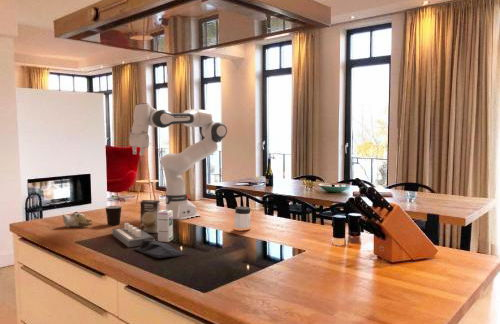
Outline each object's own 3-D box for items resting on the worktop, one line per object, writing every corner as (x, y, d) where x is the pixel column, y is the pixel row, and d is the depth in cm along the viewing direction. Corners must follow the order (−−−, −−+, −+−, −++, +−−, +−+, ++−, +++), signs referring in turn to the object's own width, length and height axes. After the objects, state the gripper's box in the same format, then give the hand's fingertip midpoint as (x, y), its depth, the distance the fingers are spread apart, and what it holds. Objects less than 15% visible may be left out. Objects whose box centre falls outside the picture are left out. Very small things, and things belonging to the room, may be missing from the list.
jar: (253, 230, 224) (253, 208, 223) (241, 232, 219) (242, 209, 218) (243, 227, 231) (243, 205, 230) (231, 229, 226) (231, 207, 225)
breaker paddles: (127, 228, 211) (127, 222, 210) (141, 237, 194) (140, 230, 194) (124, 229, 210) (124, 223, 209) (137, 237, 193) (137, 231, 193)
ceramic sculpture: (63, 209, 228) (92, 209, 234) (62, 225, 229) (91, 224, 234) (62, 213, 218) (92, 213, 224) (61, 229, 219) (91, 229, 224)
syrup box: (168, 242, 198) (168, 212, 197) (157, 241, 199) (157, 211, 198) (173, 239, 203) (173, 209, 202) (162, 238, 205) (162, 209, 203)
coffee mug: (118, 226, 228) (118, 208, 227) (103, 226, 228) (103, 208, 227) (125, 221, 240) (125, 204, 239) (110, 221, 240) (110, 204, 239)
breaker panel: (135, 232, 216) (135, 225, 216) (153, 243, 195) (153, 236, 195) (112, 234, 210) (112, 228, 209) (128, 247, 188) (128, 240, 188)
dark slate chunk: (154, 262, 168) (154, 251, 168) (132, 250, 185) (132, 239, 185) (187, 256, 178) (187, 245, 178) (163, 244, 195) (163, 234, 195)
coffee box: (139, 232, 215) (139, 202, 214) (142, 229, 222) (142, 200, 220) (157, 232, 216) (157, 202, 214) (159, 229, 222) (159, 200, 221)
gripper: (152, 132, 231) (150, 156, 231) (138, 131, 247) (136, 154, 247) (142, 130, 227) (139, 155, 227) (128, 130, 243) (126, 153, 244)
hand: (137, 154), depth 237 cm, fingers open, 8 cm apart
